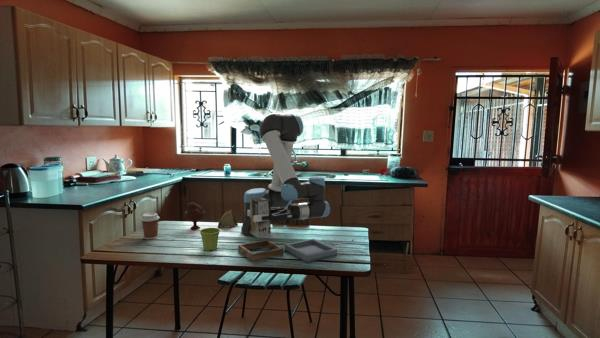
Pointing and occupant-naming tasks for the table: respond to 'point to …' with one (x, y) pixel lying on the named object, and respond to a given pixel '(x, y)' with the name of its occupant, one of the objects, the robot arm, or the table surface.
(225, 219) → the rock
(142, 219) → the coffee cup
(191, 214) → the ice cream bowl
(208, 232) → the plant pot
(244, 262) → the table surface
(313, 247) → the tray
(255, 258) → the square wooden frame
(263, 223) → the coffee box
